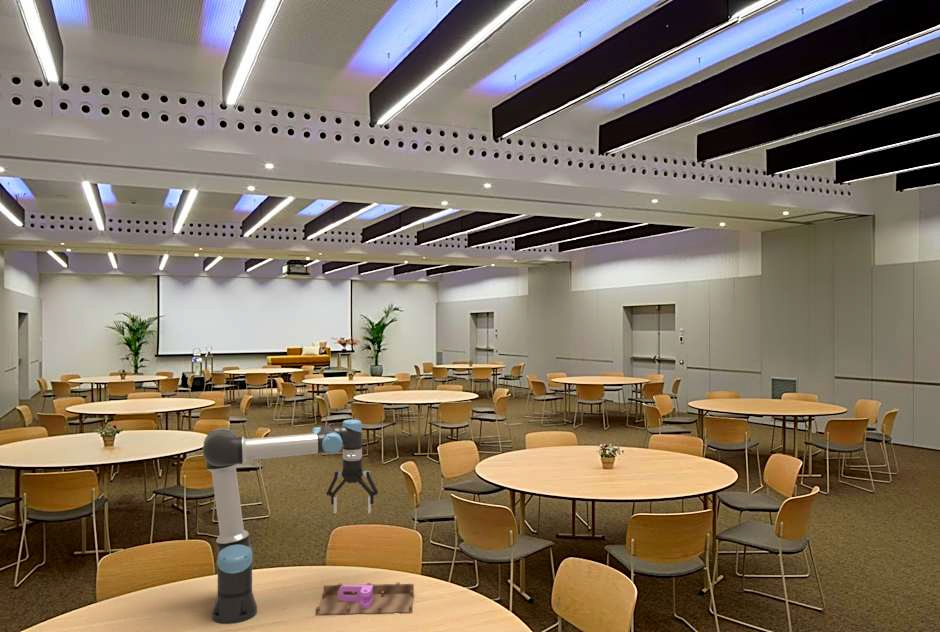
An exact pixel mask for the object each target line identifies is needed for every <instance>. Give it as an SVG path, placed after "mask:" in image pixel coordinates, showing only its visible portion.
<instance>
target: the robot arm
mask: <svg viewBox="0 0 940 632" xmlns="http://www.w3.org/2000/svg"><path fill="white" fill-rule="evenodd" d="M341 450H342V459H343V460H342V471H339V470H336V471H335V472H334V476H333V479H332V481H331V483H330V485H329V487H328V489H327V491H326V494H325V495H327V496H330V504H331V505H333V514H337V512H338V497H337V496H338V495H337V493H338V492H339V491H340V489H341V488H342V487H343V486H344V485H345V483H348V484H350V483H351V484H352V483H353V484H357V483H358V484H359V485H361V487H362V488H363V489H364V490H365V491H366V492H367V494H368V496H367V501H368V502H367V505H368V506H367V511H368V513H367V514H371V512H372V505H373V504H374V501H375V499H374V496H376V495H378V493H379V490H378V488H377V485H376V484H375V482H374V479H373V478H372V476H371V471H370V470H366V471H363V459H362V458H363V429H362V421H361V420H359V419H345V420H343V421H342V425H338V426H337V425H335V426H334V425H333V426H332V425H331V426H318V427H313V428H312V431H311V433H303V434H302V433H300V434H291V435H280V436H278V435H277V436H266V437H253V438H245V437H244V436H236V435H235V433H234V432H232V431H231V430H230V429H226V428H217V429H214V430H213V431H211V432H210V433H208V434H207V436H206V437H205V438H204V441H203V445H202V456H203V458H204V460H205V464H206V465H205V466H206V470H207V471H209V472H210V473H211V476H212V478H211V479H212V484H213V485H212V486H213V491H214V492H213V493H214V501H215V508H216V515H217V522H218V523H217V524H218V530H219V535H218V537H217V538H216V540H215V541H216V548H217V549H216V550H217V559H216V565H217V596H216V599H215V602H214V606H213V610H212V613H211V614H212V615H211V617H212V621H213V622H215V623H218V624H224V625H231V624H239V623H242V622H243V623H244V622H245V621H248V620H250V619H253V618H254V617H255V616H256V615H257V614H258V604H257V602H256V598H255V596H254V593H253V556H254V555H253V549H252V546H251V541H250V540H251V539H250V534H249V531H248V530H246V529H245V527H244V521H243V520H244V519H243V512H242V503H241V496H240V489H239V481H238V474H237V467H238V465H241V464H242V465H243V464H245V462H246V461H253V460H264V459H273V458H282V457H283V458H284V457H293V456H303V455H313V454H329V455H335V454H337V453H339V452H340V451H341ZM340 476H341V477H342V478H343V479H342V480H341V482H340V483H339V484H338V485H337V486H336V488H335V489H334V490H333V488H334V486H335V484H336V482H337V480H338V478H340ZM363 476H364V477H365V478H366V479H367V482H368V483H369V485H370V486H369V485H368V484H367V483H366V482H365V480H364V479H363ZM370 487H371V488H370ZM332 490H333V491H332Z"/></svg>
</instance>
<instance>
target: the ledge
mask: <svg viewBox="0 0 940 632" xmlns="http://www.w3.org/2000/svg"><path fill="white" fill-rule="evenodd" d="M414 584H415V583H401V582H400V581H399V582H396V583H384V584H383V583H379V584H371V582H367V583H366V585H373V602H372V604H371V606H370V607H369V608H361V607H360V602H345V601H341V600H340V599H339V598H338V590H339V588H340V587H341V586H343V585H344V584H342V583H341V582H340V583H337V584H331V585H329V584H328V585H327V584H324V585H323V591H322V593H321V595H322V596H321V597H322V598H321V600H320V603H319V604H318V606H316V608H315V617H316V616H317V617H318V616H352V615H353V616H355V615H356V614H365V615H395V614H394V613H399V614H400V615H401V614H403V613H404V614H412V613H413V604H414V595H415V594H414V589H415V587H414ZM343 593H344V595H357V592H346V591H345V592H343ZM354 614H355V615H354ZM356 616H357V615H356Z"/></svg>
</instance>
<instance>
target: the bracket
mask: <svg viewBox="0 0 940 632" xmlns="http://www.w3.org/2000/svg"><path fill="white" fill-rule="evenodd" d="M342 585H343V586H341V587H340V588H339V590H338V598H339V599H340V600H341V601H345V602H360V607H361V608H369V607H370V606H371V604H372V602H373V585H367V584H342ZM345 591H346V592H357V595H344V593H343V592H345Z"/></svg>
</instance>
